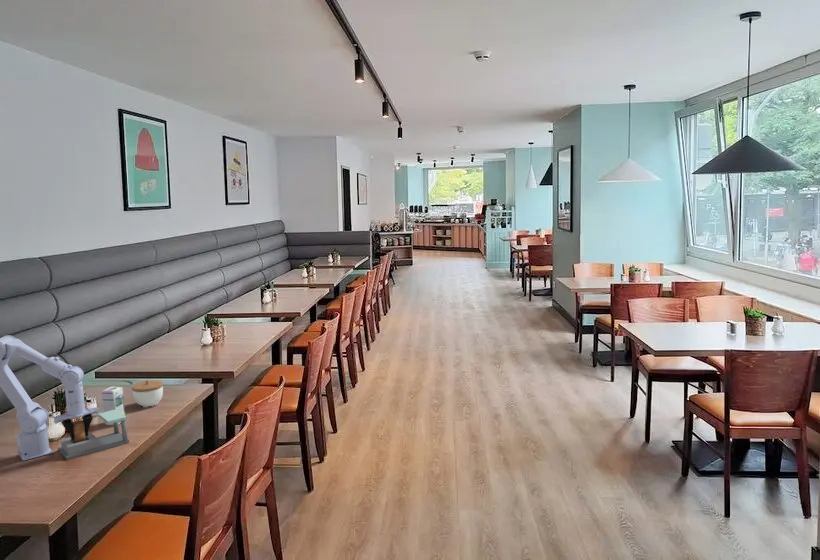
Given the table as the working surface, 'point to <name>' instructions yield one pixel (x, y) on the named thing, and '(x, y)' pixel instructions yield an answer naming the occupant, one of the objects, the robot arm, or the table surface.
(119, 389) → the syrup box
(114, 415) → the socket stand
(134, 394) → the lidded bowl
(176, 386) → the table surface
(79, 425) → the peg
